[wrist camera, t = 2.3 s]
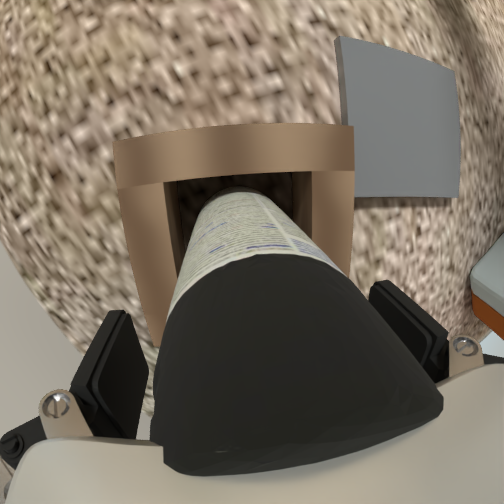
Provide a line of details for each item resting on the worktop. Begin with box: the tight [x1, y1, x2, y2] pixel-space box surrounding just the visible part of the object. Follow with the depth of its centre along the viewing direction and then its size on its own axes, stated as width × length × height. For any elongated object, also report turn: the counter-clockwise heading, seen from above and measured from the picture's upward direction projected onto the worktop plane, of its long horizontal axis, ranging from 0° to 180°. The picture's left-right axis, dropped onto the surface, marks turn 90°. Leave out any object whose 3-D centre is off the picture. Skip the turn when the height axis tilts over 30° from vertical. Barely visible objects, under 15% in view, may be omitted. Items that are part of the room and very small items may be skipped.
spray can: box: [150, 187, 444, 477], centre depth 13 cm, size 7×7×20 cm
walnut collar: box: [113, 123, 355, 346], centre depth 20 cm, size 15×15×5 cm
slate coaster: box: [334, 36, 461, 198], centre depth 20 cm, size 14×14×1 cm
